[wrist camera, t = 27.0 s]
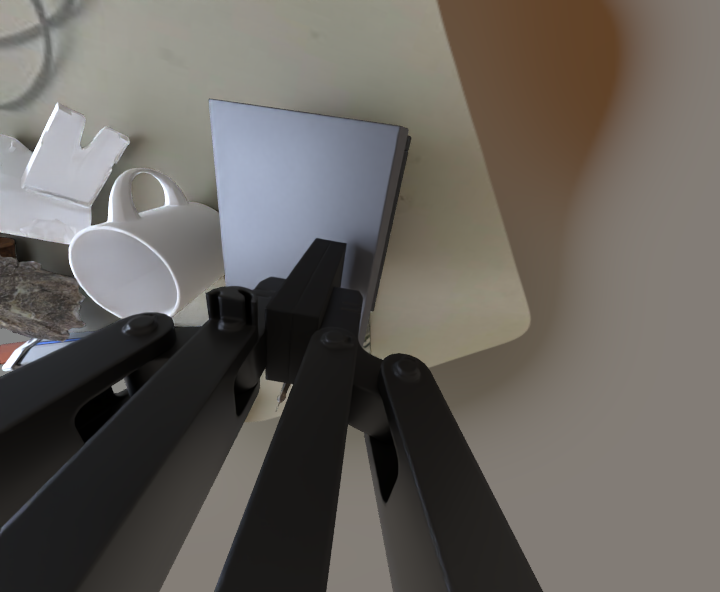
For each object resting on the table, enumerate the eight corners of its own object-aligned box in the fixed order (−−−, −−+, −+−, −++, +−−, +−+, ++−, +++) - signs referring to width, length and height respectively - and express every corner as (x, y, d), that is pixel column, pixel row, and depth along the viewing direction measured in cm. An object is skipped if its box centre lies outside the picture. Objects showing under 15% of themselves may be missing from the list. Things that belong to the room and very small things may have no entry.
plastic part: (-47, 227, 24) (-15, 201, 19) (-29, 122, 25) (6, 68, 20) (73, 248, 31) (121, 233, 25) (83, 165, 32) (132, 132, 26)
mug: (222, 163, 27) (137, 173, 18) (248, 274, 33) (194, 326, 23) (140, 163, 28) (15, 173, 18) (179, 273, 33) (100, 323, 24)
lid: (409, 128, 11) (400, 125, 10) (359, 364, 17) (352, 371, 16) (221, 101, 16) (207, 98, 15) (235, 288, 22) (225, 291, 22)
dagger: (189, 321, 39) (-4, 347, 41) (181, 309, 38) (-18, 336, 39) (163, 356, 34) (-59, 384, 35) (153, 343, 32) (-77, 373, 34)
